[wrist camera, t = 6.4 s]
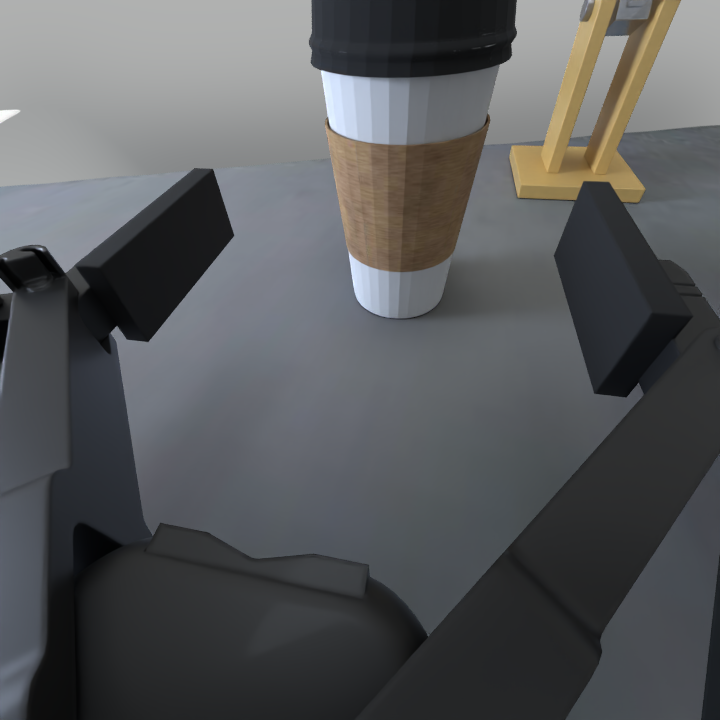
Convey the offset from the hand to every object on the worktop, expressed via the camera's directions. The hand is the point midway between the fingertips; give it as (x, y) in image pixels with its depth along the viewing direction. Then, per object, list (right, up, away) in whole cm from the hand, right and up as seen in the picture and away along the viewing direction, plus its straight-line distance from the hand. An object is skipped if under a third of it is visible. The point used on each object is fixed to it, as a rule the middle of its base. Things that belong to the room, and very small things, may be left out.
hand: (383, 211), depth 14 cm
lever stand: (+19, +12, +22) cm, 32 cm away
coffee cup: (+2, -1, +11) cm, 11 cm away
